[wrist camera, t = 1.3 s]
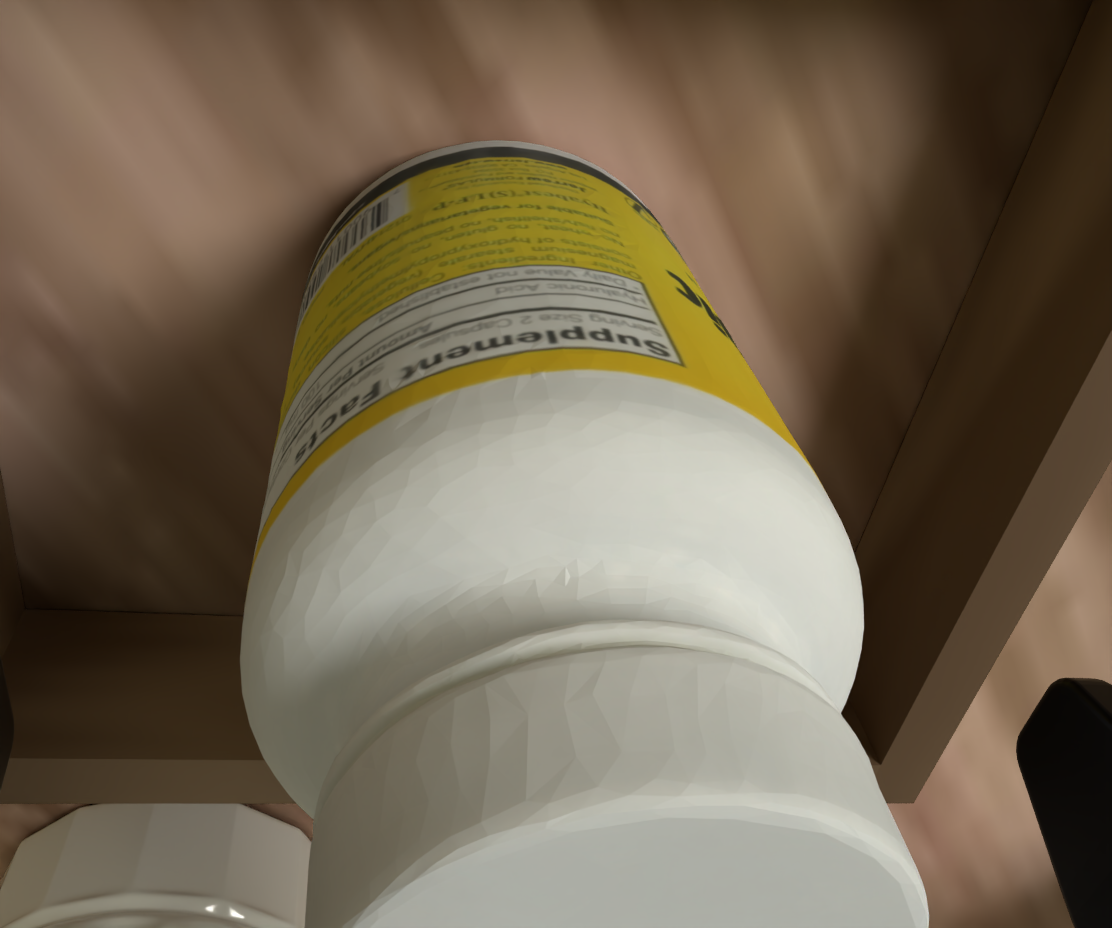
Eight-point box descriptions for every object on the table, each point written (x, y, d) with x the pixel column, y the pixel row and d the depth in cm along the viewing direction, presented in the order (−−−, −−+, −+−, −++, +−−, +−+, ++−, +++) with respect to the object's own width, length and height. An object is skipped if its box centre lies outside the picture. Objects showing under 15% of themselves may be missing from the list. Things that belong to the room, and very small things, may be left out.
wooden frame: (1232, -142, 12) (1446, -123, 9) (849, 675, 19) (913, 803, 17) (-290, -482, 9) (-564, -587, 6) (-32, 650, 16) (-111, 803, 14)
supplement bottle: (679, 451, 16) (956, 1128, 8) (342, 489, 15) (271, 1244, 7) (687, 107, 13) (1160, 652, 5) (265, 146, 12) (3, 809, 4)
